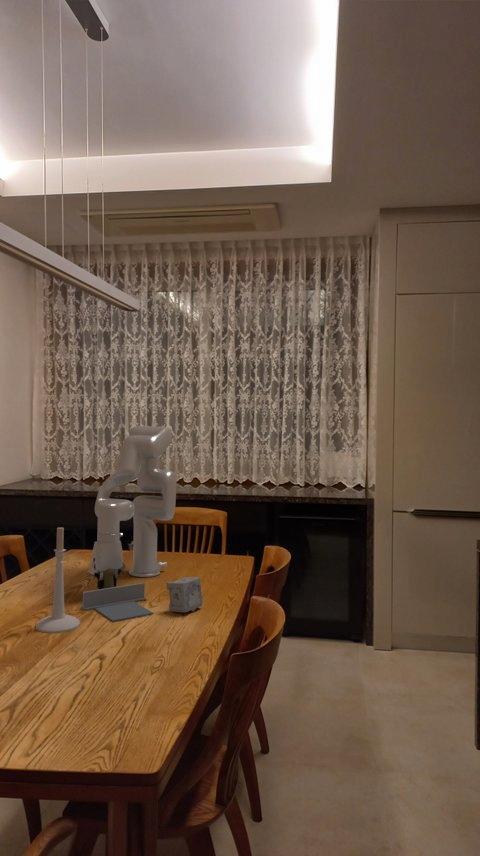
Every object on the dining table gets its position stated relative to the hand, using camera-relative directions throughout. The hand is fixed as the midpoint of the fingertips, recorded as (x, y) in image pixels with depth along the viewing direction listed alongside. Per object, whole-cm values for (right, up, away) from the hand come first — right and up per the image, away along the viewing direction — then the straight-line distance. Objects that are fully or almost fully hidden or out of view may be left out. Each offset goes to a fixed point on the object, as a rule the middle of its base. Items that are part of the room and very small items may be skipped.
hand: (106, 589), depth 210 cm
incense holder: (+28, -4, -11) cm, 31 cm away
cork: (0, -3, 0) cm, 3 cm away
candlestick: (-8, -3, -29) cm, 31 cm away
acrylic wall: (+4, -3, -7) cm, 9 cm away
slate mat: (+9, -3, -16) cm, 18 cm away
